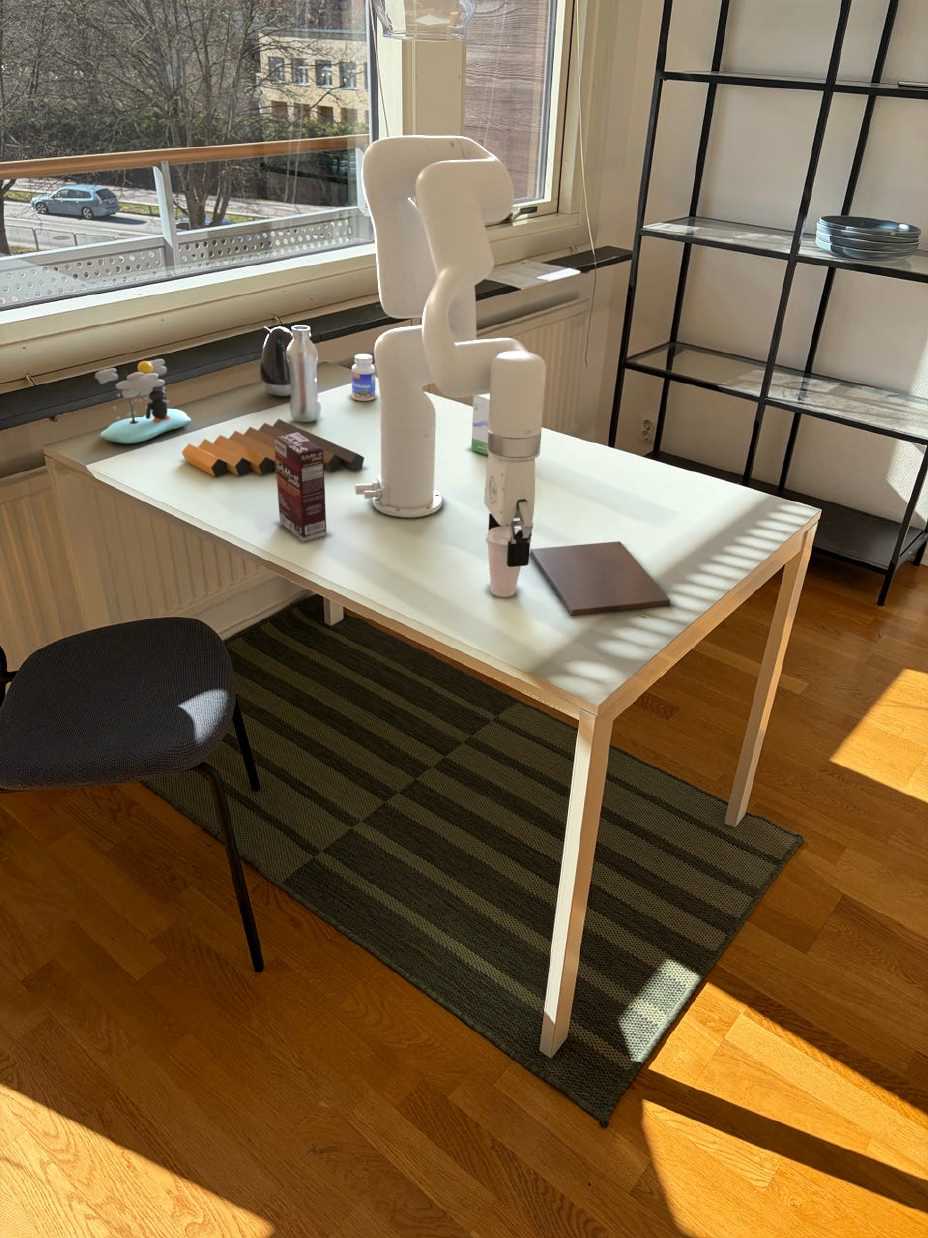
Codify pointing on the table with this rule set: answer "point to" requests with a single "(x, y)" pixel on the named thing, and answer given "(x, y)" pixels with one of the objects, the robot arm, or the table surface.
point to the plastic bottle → (303, 376)
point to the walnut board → (598, 578)
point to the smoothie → (501, 562)
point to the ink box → (480, 423)
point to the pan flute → (262, 451)
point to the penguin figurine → (157, 412)
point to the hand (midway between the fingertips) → (507, 550)
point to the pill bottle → (363, 378)
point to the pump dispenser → (276, 362)
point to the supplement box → (300, 486)
